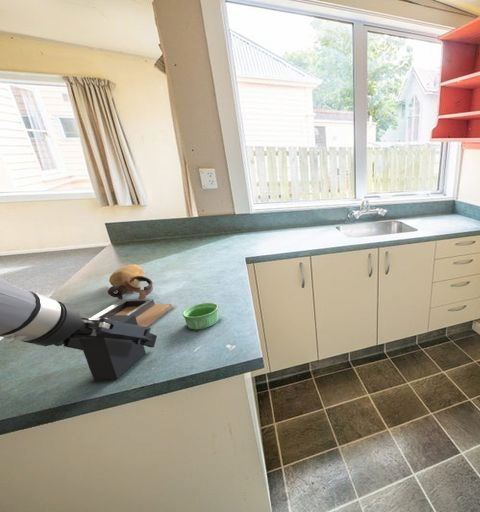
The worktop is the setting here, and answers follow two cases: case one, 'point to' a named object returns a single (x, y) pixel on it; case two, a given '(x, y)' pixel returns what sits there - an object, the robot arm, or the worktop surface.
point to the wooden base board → (136, 311)
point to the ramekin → (201, 315)
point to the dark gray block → (112, 352)
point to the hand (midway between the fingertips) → (123, 343)
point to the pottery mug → (131, 288)
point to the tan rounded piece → (126, 274)
